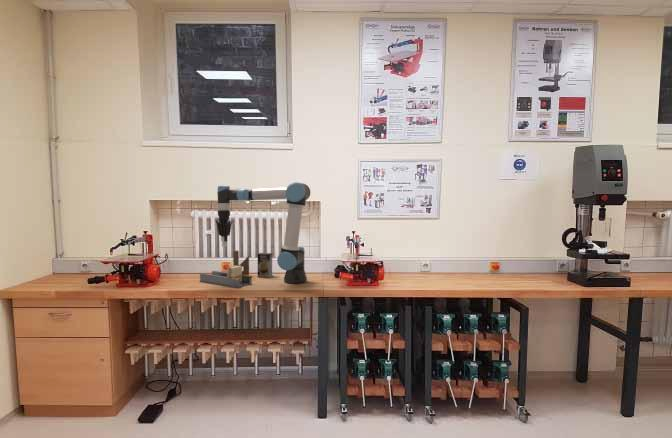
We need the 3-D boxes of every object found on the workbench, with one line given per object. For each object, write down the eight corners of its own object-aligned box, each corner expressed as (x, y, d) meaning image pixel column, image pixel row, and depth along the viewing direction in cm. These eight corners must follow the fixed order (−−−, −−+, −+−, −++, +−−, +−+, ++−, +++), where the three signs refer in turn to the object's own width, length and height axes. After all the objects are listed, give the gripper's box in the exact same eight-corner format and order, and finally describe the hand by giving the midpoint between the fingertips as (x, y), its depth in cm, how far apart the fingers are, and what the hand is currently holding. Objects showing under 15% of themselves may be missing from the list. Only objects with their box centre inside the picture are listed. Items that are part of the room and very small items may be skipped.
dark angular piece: (248, 276, 256) (248, 251, 255) (232, 276, 255) (232, 251, 254) (249, 275, 260) (249, 250, 259) (233, 275, 259) (233, 250, 258)
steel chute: (251, 284, 234) (251, 275, 233) (237, 287, 223) (237, 279, 223) (214, 277, 251) (214, 270, 250) (199, 281, 240) (199, 273, 240)
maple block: (242, 281, 234) (241, 266, 234) (233, 283, 228) (233, 268, 228) (235, 280, 237) (235, 265, 237) (226, 282, 231) (226, 267, 231)
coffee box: (257, 276, 255) (257, 253, 255) (260, 275, 262) (260, 252, 261) (269, 277, 254) (269, 254, 253) (272, 275, 261) (272, 252, 260)
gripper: (235, 209, 235) (236, 246, 236) (221, 209, 242) (221, 245, 243) (226, 210, 229) (227, 247, 230) (212, 209, 235) (212, 246, 236)
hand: (224, 246), depth 236 cm, fingers closed
